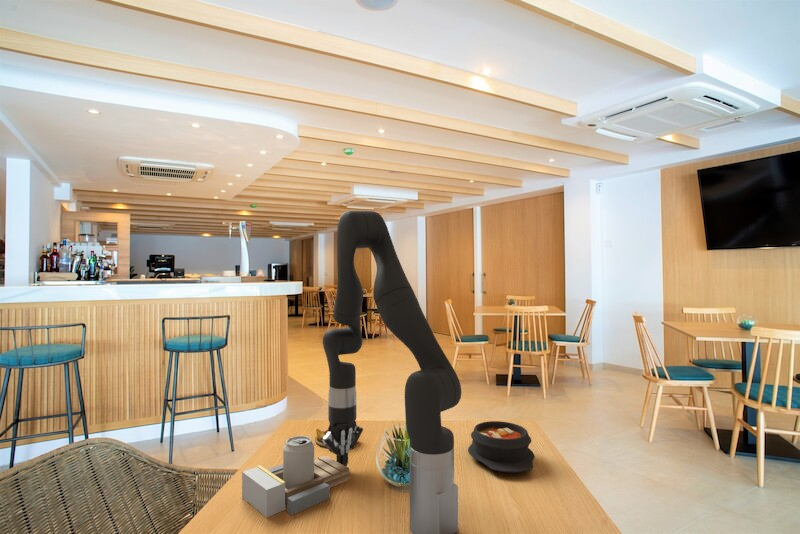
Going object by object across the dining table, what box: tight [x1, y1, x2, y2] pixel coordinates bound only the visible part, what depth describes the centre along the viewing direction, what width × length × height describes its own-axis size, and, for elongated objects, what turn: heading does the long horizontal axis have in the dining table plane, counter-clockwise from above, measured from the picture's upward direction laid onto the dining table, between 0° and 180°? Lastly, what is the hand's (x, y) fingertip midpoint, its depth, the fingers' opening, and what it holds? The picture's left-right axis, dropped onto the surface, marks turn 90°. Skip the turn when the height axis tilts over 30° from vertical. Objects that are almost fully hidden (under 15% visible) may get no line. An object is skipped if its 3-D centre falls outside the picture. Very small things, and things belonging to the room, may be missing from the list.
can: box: [282, 435, 315, 490], centre depth 106 cm, size 8×8×12 cm
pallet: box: [273, 454, 350, 507], centre depth 108 cm, size 11×18×3 cm, turn 134°
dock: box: [241, 463, 331, 519], centre depth 103 cm, size 18×14×6 cm
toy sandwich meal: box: [314, 428, 353, 448], centre depth 137 cm, size 12×14×5 cm
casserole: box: [467, 420, 535, 473], centre depth 124 cm, size 25×19×8 cm
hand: (342, 466), depth 116 cm, fingers closed
